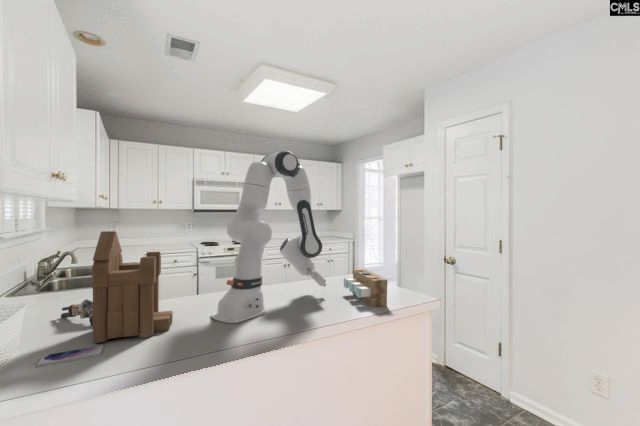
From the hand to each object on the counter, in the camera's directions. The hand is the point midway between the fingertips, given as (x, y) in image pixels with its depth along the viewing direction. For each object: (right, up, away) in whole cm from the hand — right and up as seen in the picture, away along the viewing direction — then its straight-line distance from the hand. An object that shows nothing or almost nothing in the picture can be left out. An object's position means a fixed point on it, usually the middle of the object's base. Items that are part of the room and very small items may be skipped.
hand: (324, 285), depth 150 cm
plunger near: (+19, -2, -11) cm, 22 cm away
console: (+21, -6, -2) cm, 22 cm away
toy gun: (-92, -5, -37) cm, 99 cm away
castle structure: (-69, -5, -39) cm, 79 cm away
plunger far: (+15, -2, +4) cm, 15 cm away
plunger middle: (+17, -2, -4) cm, 17 cm away
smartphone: (-75, -6, -62) cm, 97 cm away
